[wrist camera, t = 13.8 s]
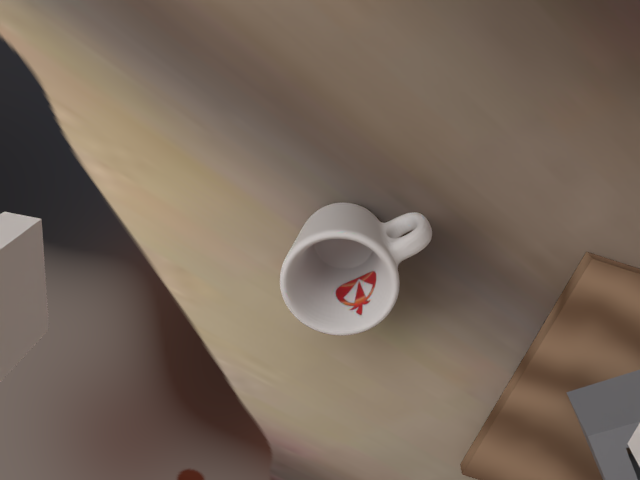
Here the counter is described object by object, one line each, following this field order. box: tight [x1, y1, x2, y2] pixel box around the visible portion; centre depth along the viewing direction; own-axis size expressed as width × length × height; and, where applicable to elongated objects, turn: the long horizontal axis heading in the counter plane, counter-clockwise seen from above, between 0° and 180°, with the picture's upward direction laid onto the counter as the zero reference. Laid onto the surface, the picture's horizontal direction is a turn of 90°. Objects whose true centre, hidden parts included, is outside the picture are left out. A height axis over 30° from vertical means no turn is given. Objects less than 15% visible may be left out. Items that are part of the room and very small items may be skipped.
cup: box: [280, 203, 432, 335], centre depth 39 cm, size 11×8×8 cm
